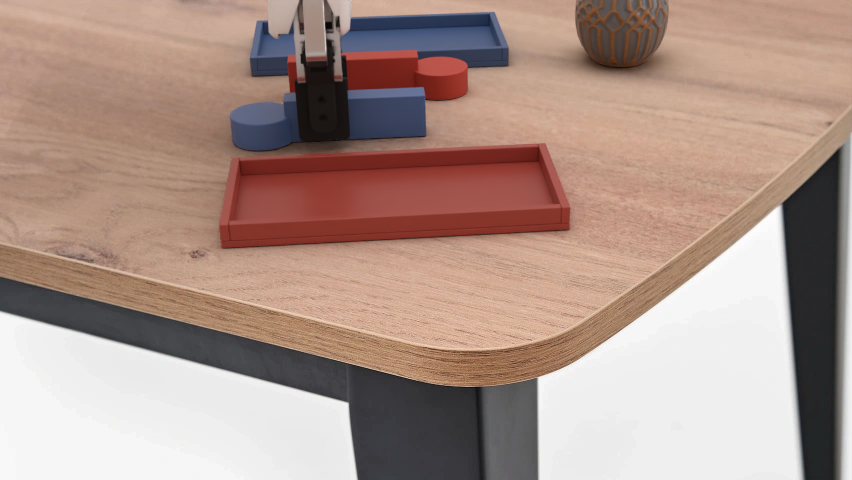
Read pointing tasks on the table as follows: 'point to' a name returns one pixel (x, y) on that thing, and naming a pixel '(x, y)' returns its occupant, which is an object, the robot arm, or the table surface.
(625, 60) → the vase
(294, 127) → the blue disc-ended bar
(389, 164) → the red tray
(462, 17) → the blue tray
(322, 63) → the robot arm
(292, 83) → the red disc-ended bar
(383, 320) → the table surface
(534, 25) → the table surface
